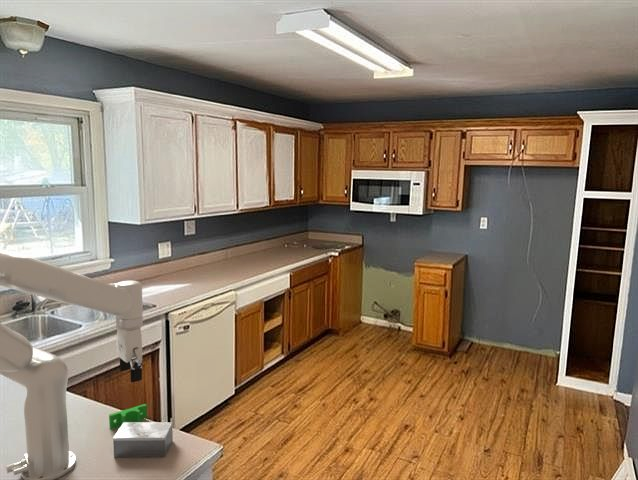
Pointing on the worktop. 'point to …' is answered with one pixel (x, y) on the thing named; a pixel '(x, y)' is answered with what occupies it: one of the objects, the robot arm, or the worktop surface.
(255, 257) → the worktop surface
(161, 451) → the gray rectangular block
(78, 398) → the worktop surface
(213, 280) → the worktop surface
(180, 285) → the worktop surface
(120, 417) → the pipe clamp
